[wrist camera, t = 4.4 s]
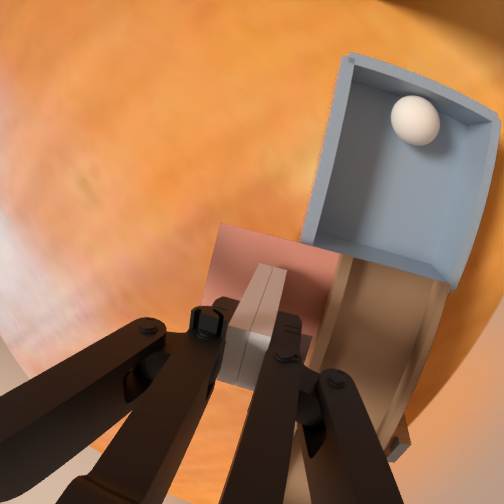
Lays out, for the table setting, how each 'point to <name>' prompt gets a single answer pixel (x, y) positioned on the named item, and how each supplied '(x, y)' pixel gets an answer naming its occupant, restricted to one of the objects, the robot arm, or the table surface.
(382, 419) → the lever
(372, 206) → the dish
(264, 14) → the table surface
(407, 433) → the fulcrum
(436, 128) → the ball
